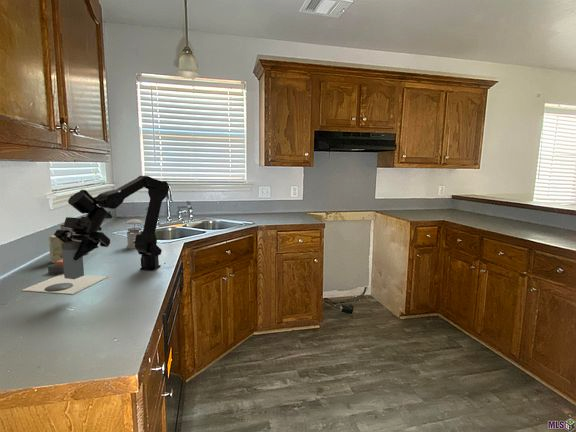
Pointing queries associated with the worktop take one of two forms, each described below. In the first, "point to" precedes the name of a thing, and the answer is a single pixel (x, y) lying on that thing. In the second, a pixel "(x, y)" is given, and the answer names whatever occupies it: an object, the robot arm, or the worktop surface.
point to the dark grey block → (72, 260)
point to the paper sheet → (65, 284)
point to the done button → (59, 262)
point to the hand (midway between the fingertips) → (69, 259)
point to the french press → (133, 231)
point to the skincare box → (55, 249)
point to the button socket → (55, 269)
